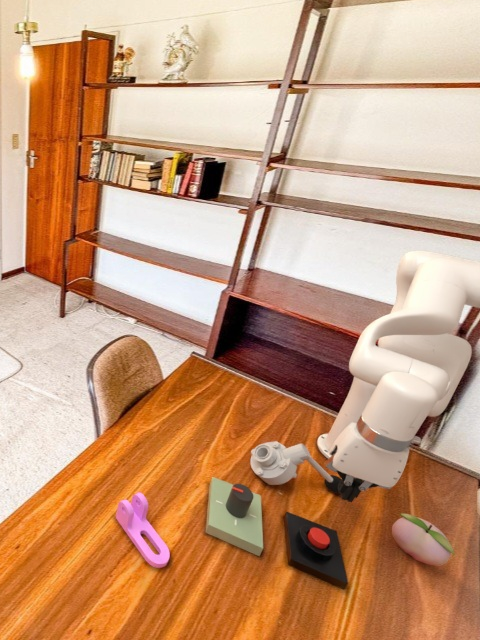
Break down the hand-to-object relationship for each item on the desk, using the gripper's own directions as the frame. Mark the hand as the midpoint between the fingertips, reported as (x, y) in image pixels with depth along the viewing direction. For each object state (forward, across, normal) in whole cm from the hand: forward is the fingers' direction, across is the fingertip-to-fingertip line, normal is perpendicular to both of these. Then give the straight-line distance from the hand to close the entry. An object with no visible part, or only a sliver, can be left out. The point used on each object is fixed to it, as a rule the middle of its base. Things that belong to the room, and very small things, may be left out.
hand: (345, 495), depth 82 cm
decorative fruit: (+16, -18, -7) cm, 26 cm away
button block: (+16, +2, +3) cm, 16 cm away
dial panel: (+16, +18, +3) cm, 24 cm away
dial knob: (+13, +18, +3) cm, 22 cm away
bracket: (+16, +36, +18) cm, 43 cm away
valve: (+17, +4, -16) cm, 23 cm away
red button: (+12, +2, +3) cm, 13 cm away
